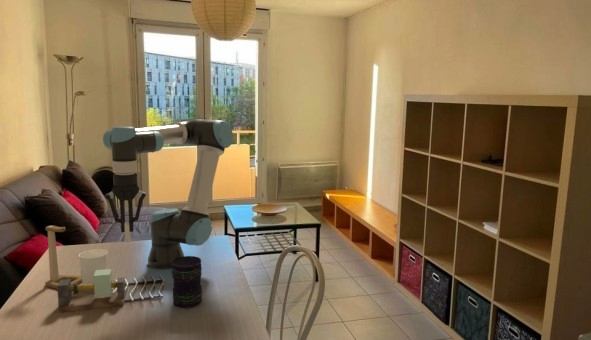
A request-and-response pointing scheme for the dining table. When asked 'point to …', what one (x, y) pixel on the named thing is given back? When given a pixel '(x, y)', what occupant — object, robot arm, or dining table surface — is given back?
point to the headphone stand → (53, 260)
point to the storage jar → (187, 282)
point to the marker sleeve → (103, 282)
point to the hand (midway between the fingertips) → (127, 240)
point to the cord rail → (88, 296)
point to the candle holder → (92, 264)
